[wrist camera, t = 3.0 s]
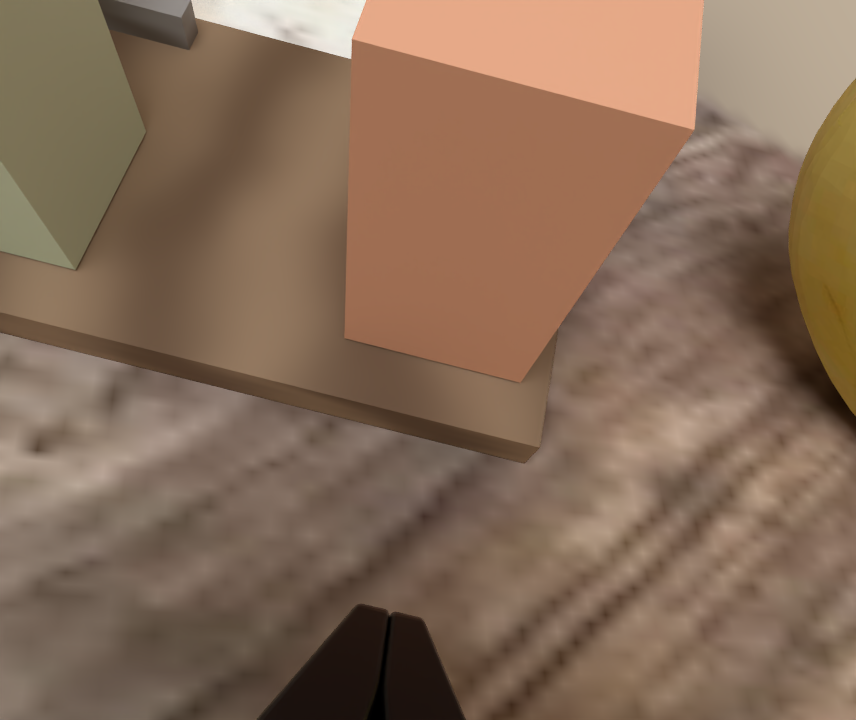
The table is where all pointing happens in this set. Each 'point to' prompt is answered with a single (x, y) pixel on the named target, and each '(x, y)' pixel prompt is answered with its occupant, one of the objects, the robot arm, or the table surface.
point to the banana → (829, 244)
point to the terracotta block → (503, 163)
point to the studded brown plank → (248, 245)
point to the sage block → (60, 127)
